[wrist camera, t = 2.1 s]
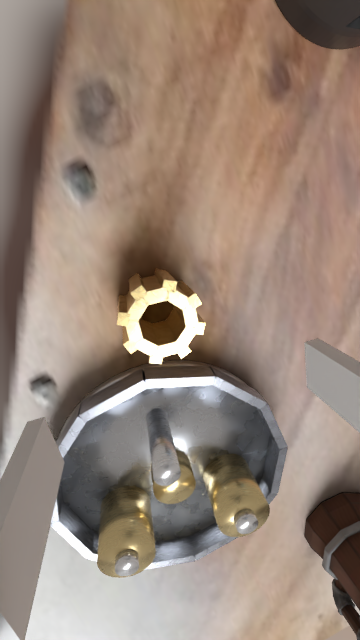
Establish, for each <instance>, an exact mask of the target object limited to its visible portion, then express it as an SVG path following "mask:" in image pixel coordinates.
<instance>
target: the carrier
mask: <svg viewBox="0 0 360 640" xmlns="http://www.w3.org/2000/svg"><path fill="white" fill-rule="evenodd" d="M56 444H57V446H58V449H59V451H60V453H61V455H62V458H63V460H64V467H63V471H62V476H61V480H60V484H59V489H58V493H57V498H56V502H55V507H54V511H53V516H52V520H51V524H50V526H52V527H53V528H54V529H55V530H56V531H57V532H58V533H59V534H60V535H61V536H62V537H63V538H64V539H66V540H67V541H68V542H69V543H70V544H71V545H72V546H73V547H74V548H75V549H76V550H77V551H78V552H80V553H81V554H82V555H83V556H84V557H85V558H87V557H88V558H87V559H89V560H94V561H97V565H98V568H99V569H100V571H101V572H103V573H104V574H106V575H108V576H111V577H119V578H120V577H128V576H132V575H135V574H138V573H140V572H142V571H143V570H146V569H152V568H158V567H164V566H169V565H175V564H181V563H187V562H193V561H195V559H196V560H198V559H200V558H202V557H204V556H206V555H207V554H209V553H211V552H213V551H215V550H216V549H218V548H220V547H222V546H223V545H225V544H227V543H229V542H231V541H232V540H234V539H236V538H238V537H241V536H245V535H248V534H251V533H253V532H254V531H256V530H257V529H259V528H260V527H261V526H262V525H263V524H264V523H265V521H266V520H267V518H268V516H269V511H270V508H269V504H270V502H271V501H272V500H273V499H274V498H275V496H276V495H277V493H278V490H279V486H280V481H281V476H282V472H283V467H284V462H285V458H286V453H287V444H286V442H285V440H284V438H283V436H282V433H281V431H280V429H279V427H278V425H277V422H276V420H275V418H274V416H273V414H272V412H271V409H270V407H269V405H268V403H267V402H266V401H265V400H264V398H263V397H262V396H261V395H260V393H259V392H258V391H257V390H255V389H253V388H251V387H249V386H248V385H247V384H246V383H244V382H243V381H242V380H241V379H240V378H238V377H237V376H235V375H233V374H232V373H230V372H228V371H226V370H224V369H222V368H219V367H217V366H214V365H210V364H207V363H203V362H196V361H190V360H169V361H162V364H154V363H149V364H144V365H141V366H138V367H135V368H132V369H129V370H126V371H124V372H122V373H120V374H118V375H116V376H114V377H112V378H110V379H108V380H107V381H105V382H104V383H102V384H100V385H99V386H98V387H96V388H95V389H94V390H93V391H91V392H90V393H89V394H88V395H86V397H85V398H84V399H83V400H82V401H81V402H80V403H79V404H78V405H77V406H76V407H75V409H74V410H73V411H72V413H71V414H70V415H69V417H68V418H67V420H66V422H65V424H64V426H63V428H62V430H61V432H60V435H59V438H58V439H57V441H56Z"/></svg>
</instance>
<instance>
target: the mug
mask: <svg viewBox="0 0 360 640" xmlns="http://www.w3.org/2000/svg"><path fill="white" fill-rule="evenodd" d="M305 538H306V540H307V542H308V543H309V545H310V547H311V548H312V549H313V550H314V551H315V552H316V553H317V554H318V555H319V556H320V557H321V558H322V559H323V563H322V566H323V568H324V569H325V570H326V571H327V572H328V573H329V574H330V575H331V576H332V577H334V578H335V579H333V581H332V589H333V597H334V601H335V604H336V606H337V609H338V612H339V614H341V615H343V616H344V617H345V619H346V620H347V622H348V623H349V625H350V626H351V628H352V629H353V631H354V632H355V634H356V635H357V640H360V615H359V614H358V613H357V611H356V610H355V604H356V606H357V607H358V609H359V610H360V493H341V494H339V495H337V496H334V497H332V498H330V499H328V500H326V501H324V502H322V503H321V504H320V505H319V506H318V507H317V508H316V509H315V511H314V512H313V513H312V514H311V515H310V516H309V517H308V519H307V520H306V528H305ZM351 599H352V600H353V602H354V603H355V604H354V603H353V602H352V600H351Z"/></svg>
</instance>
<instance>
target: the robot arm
mask: <svg viewBox="0 0 360 640" xmlns="http://www.w3.org/2000/svg"><path fill="white" fill-rule="evenodd" d="M276 2H277V4H278V6H279V8H280V10H281V11H282V13H283V15H284V16H285V17H286V19H287V20H288V21H289V23H290V24H291V25H292V26H293V27H294V28H295V29H296V30H297V31H298V32H299V33H300V34H301V35H302V36H304V37H305V38H306V39H308V40H309V41H311V42H313V43H315V44H317V45H319V46H322V47H326V48H330V49H349V48H353V47H357V46H360V0H276ZM305 360H306V378H307V388H309V389H310V390H311V391H312V392H313V393H314V394H316V395H317V396H318V397H319V398H320V399H321V400H322V401H324V402H325V403H326V404H327V405H328V406H329V407H331V408H332V409H333V410H334V411H335V412H336V413H338V414H339V415H340V416H341V417H342V418H343V419H345V420H346V421H347V422H348V423H349V424H350V425H351V426H353V427H354V428H355V429H356V430H357V431H358V432H360V362H359V361H357V360H355V359H353V358H352V357H350V356H348V355H346V354H345V353H343V352H341V351H339V350H338V349H336V348H334V347H332V346H331V345H329V344H327V343H325V342H324V341H322V340H320V339H318V338H317V339H314V340H310V341H307V342H305ZM63 467H64V460H63V458H62V455H61V453H60V451H59V449H58V446H57V444H56V442H55V440H54V438H53V435H52V433H51V431H50V429H49V426H48V424H47V422H46V420H45V417H43V418H40V419H36V420H33V421H29V422H27V424H26V426H25V428H24V430H23V432H22V435H21V437H20V439H19V441H18V443H17V445H16V448H15V450H14V452H13V454H12V456H11V458H10V461H9V463H8V465H7V467H6V469H5V472H4V474H3V476H2V478H1V480H0V640H25V636H26V631H27V627H28V622H29V618H30V613H31V609H32V605H33V600H34V596H35V591H36V587H37V582H38V578H39V573H40V569H41V564H42V560H43V556H44V551H45V547H46V542H47V538H48V533H49V529H50V524H51V520H52V516H53V511H54V507H55V502H56V498H57V493H58V489H59V484H60V480H61V476H62V471H63Z"/></svg>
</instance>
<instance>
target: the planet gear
mask: <svg viewBox="0 0 360 640" xmlns="http://www.w3.org/2000/svg"><path fill="white" fill-rule="evenodd" d="M129 287H130V290H129V292H128V293H127V295H126V296H125V295H119V300H118V313H117V325H121V326H123V345H124V347H125V348H126V349H127V350H128V351H129V352H130V354H132V353H133V352H135V351H136V350H137V349H138V350H140V351H142V352H144V353H145V354H147V355H148V359H149V363H154V364H162V359H163V357H165V356H169V355H173V354H176V353H177V354H178V355H179V356H180V358H181V359H182V358H183V357H185V356H186V355H187V354H189V353H190V352H192V351H191V350H190V348H189V346H188V344H189V343H190V341H191V340H192V339H193V337H194V336H195V334H200V335H203V332H204V328H205V324H206V323H205V322H204V321H203V319H202V318H201V317H200V316H199V315H198V313H197V312H196V307H198V306H199V305H200V304H202V303H201V301H200V300H199V298H198V297H197V295H196V294H195V293H194V292H193V291H192V290H191V289H190V288H189V287H188V286H187V285H186V284H185V283H184V282H183V281H182V280H180V281H179V282H177V281H176V280H175V279H174V278H173V277H172V276H171V275H170V274H169V273H168V272H167V270H162V269H156V268H155V274H154V275H153V276H149V277H145V278H141V277H140V275H139V274H138V273H136V274H135V275H134V276H132V277H131V278H130V279H129ZM163 301H169V302H170V303H172V304H174V309H173V310H172V312H171V313H170V315H169V316H168V318H167V319H166V320H164V321H160V322H156V323H150V322H148V321H146V320H144V319H142V318H141V316H142V314H143V313H144V311H145V309H146V308H147V306H148V305H151V304H155V303H159V302H163Z"/></svg>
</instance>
